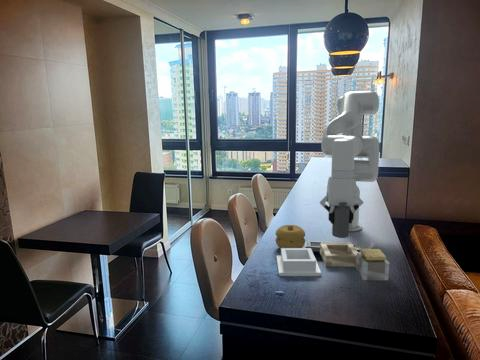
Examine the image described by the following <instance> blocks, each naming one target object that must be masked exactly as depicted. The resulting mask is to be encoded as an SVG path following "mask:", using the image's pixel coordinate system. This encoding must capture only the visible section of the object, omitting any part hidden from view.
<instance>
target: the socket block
mask: <svg viewBox="0 0 480 360" xmlns="http://www.w3.org/2000/svg"><path fill="white" fill-rule="evenodd" d="M353 245H354V244H353V243H352V242H350V243H348V242H320V243H319V254H320V256H321V259H322V261H323V264H324V265H325V267H326V268H327V267H329V268H330V267H331V268H333V267H334V268H335V267H336V268H340V267H341V268H342V267H346V268H347V267H349V268H350V267H354V268H355V270H356V271H357V273H358V274H359V276H360V277H361V279H362V281H389V275H390V274H389V273H390V262H389V261H388V260H387V259H386V260H383V262H367V261H366V260H365V259H364V257H363V255H362V254H361V253H358V251H357V250H356V248H355V247H354V246H353Z"/></svg>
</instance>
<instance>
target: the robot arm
mask: <svg viewBox="0 0 480 360" xmlns="http://www.w3.org/2000/svg"><path fill="white" fill-rule="evenodd" d="M336 102H337V104H336V107H337V111H338V115H337V117H335V118H333V120H331V121H330V122H328V124H327V125H326V126H325V128H324V130H323V133H322V139H321V145H320V146H321V152H322V153H323V155H325V156H329V157H331V176H329V177H328V180H327V186H326V192H325V193H326V195H325V196H324V197H323V198H322V199H321V200H320V201H319V204H320V205H321V206H322V207H323V208H324V209H325V210H326V211H327V212H328V221H329V222H330V224H333V223H334V213H333V210H334V207H335V206H340V205H339V203H340V202H347V205H346V206H348V207H349V208H350V216H349V232H358V231H360V230H362V228H363V226H362V224H361V223H359V222H360V221H359V218H360V207H361V206H363V204H364V201H363V200H362V199H361V197H360V196H361V191H360V188H359V185H357V182H364V183H373V182H375V181H377V180H378V176H379V163H380V162H379V160H380V159H379V158H380V142H379V141H380V140H379V139H378V138H377V136H374V135H363V123H362V119H361V116H362V115H363V116H365V115H375V114H377V113H378V111H379V108H380V97H379V94H378V93H377V92H376V91H373V90H357V91H355V90H354V91H348V92H346V93H344V94H343V95H342V96H339V97H338V99H337V101H336ZM339 134H340V135H339ZM341 134H342V135H341ZM355 158H366V160H365V159H364V160H363V159H362V160H361V159H355ZM326 202H327V203H326ZM327 204H328V205H327Z"/></svg>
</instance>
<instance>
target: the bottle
mask: <svg viewBox="0 0 480 360" xmlns="http://www.w3.org/2000/svg"><path fill="white" fill-rule="evenodd" d="M339 205H340V206H335V207H334V210H333V213H334V223H333V224H332V225H331V226H332V227H331V228H332V229H331V231H332V232H331V234H332V236H333V237H335V238H338V239H346V238H348V237H349V236H350V235H349V233H350V231H349V216H350V208H349V207H348V206H346V205H347V202H340V203H339Z"/></svg>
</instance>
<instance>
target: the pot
mask: <svg viewBox="0 0 480 360" xmlns="http://www.w3.org/2000/svg"><path fill="white" fill-rule="evenodd" d="M275 236H276V238H275V243H276V245H277V246H278V248H279V249H280V250H281V248H304V245H305V244H306V238H305V237H306V231H305V230H304V229H303V228H302V227H301V226H298V225H295V224H294V225H293V224H286V225H281V226H279V228H277V229H276V231H275Z"/></svg>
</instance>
